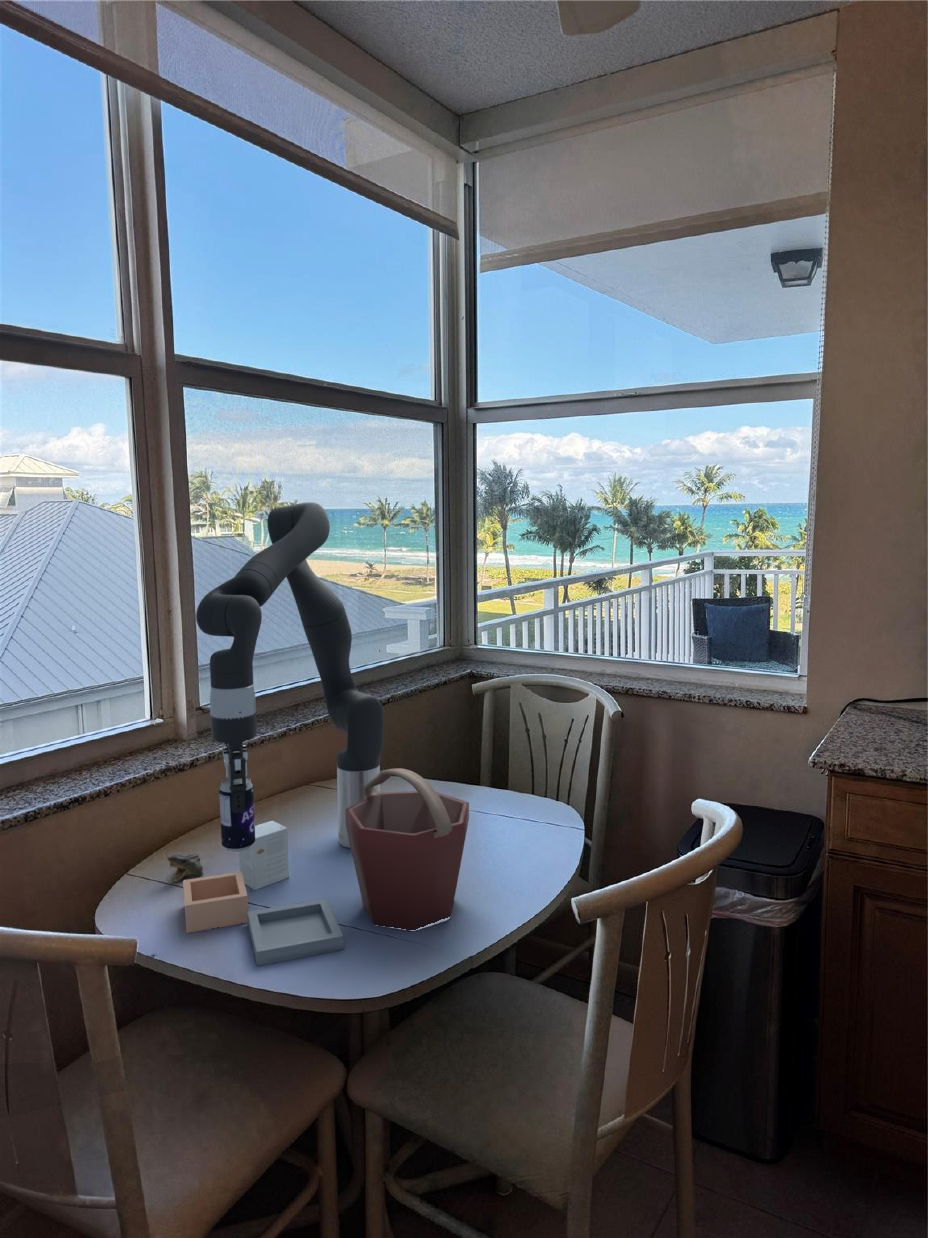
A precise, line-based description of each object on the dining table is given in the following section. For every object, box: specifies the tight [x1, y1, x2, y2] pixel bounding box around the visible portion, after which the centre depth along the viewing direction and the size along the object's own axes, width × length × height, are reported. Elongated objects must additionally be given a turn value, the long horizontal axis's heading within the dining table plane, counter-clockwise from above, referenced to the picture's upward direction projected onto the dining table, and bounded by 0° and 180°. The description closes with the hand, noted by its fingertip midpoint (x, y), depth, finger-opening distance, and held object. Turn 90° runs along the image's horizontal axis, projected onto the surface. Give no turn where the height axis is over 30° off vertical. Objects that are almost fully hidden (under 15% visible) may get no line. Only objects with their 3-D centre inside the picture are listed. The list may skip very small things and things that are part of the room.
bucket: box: [345, 767, 470, 930], centre depth 149 cm, size 24×22×25 cm
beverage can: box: [218, 776, 256, 853], centre depth 143 cm, size 6×6×12 cm
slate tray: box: [247, 898, 345, 967], centre depth 140 cm, size 14×14×2 cm
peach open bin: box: [182, 871, 249, 934], centre depth 148 cm, size 10×10×5 cm
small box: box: [238, 820, 290, 891], centre depth 161 cm, size 8×6×10 cm
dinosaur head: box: [167, 853, 204, 883], centre depth 162 cm, size 8×6×7 cm
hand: (237, 805), depth 142 cm, fingers closed on beverage can, 5 cm apart
